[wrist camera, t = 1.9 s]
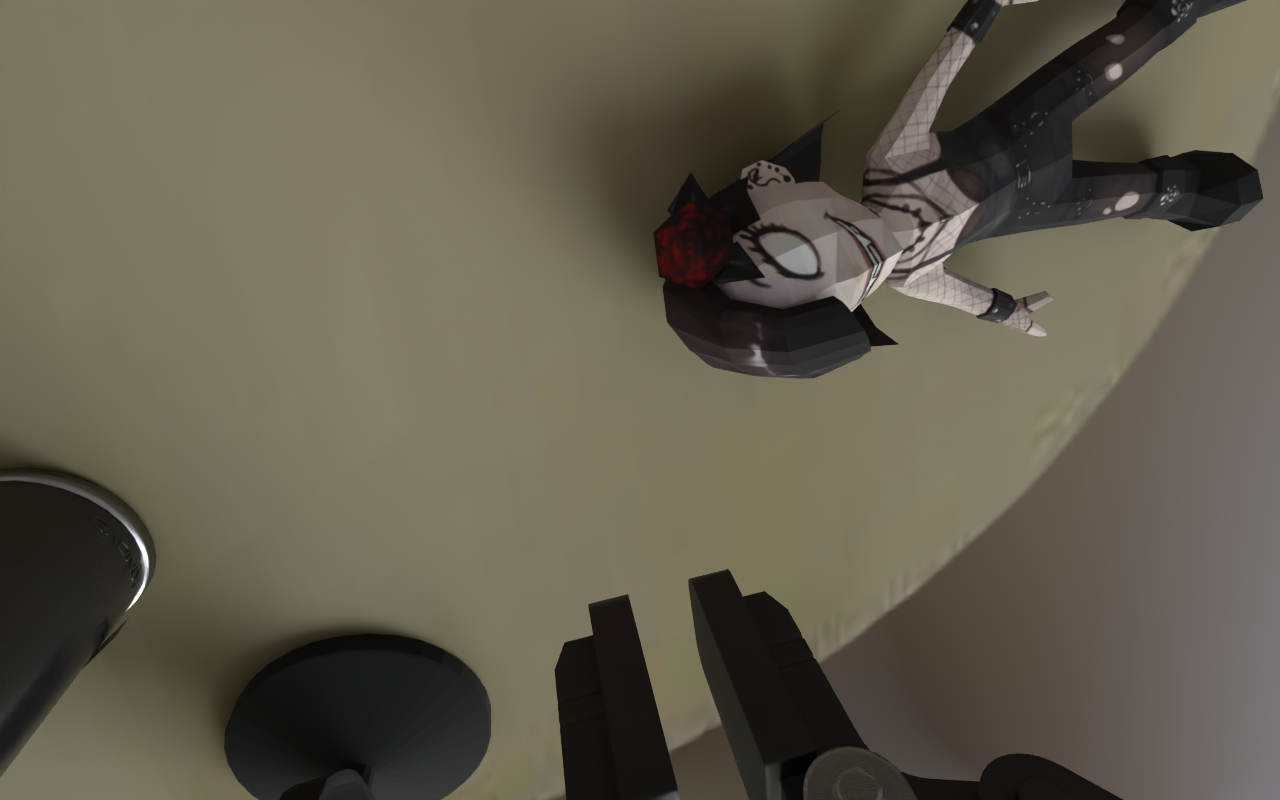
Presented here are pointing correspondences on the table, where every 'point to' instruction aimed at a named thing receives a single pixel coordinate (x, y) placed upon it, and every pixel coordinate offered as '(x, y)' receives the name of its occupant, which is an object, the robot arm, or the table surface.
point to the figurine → (926, 204)
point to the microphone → (359, 723)
